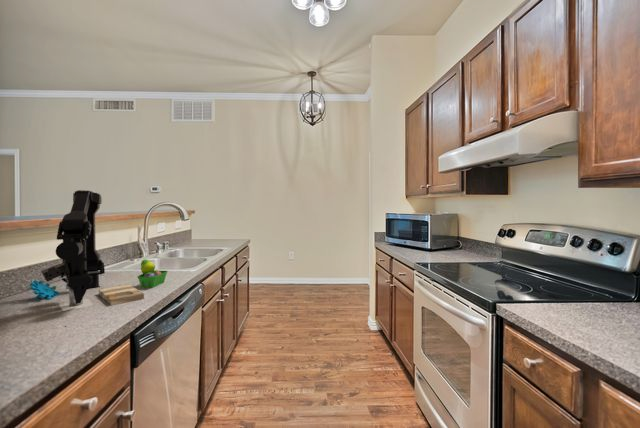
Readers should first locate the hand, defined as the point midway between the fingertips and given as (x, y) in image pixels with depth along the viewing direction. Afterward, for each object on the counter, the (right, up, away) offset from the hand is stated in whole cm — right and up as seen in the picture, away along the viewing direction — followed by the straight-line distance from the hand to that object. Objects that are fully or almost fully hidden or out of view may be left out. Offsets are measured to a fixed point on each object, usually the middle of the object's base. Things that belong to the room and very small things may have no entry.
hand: (76, 300), depth 102 cm
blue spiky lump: (-17, -2, +8) cm, 19 cm away
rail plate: (+9, -2, +10) cm, 13 cm away
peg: (0, -1, 0) cm, 1 cm away
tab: (0, -2, 0) cm, 2 cm away
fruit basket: (+9, -2, +30) cm, 31 cm away
